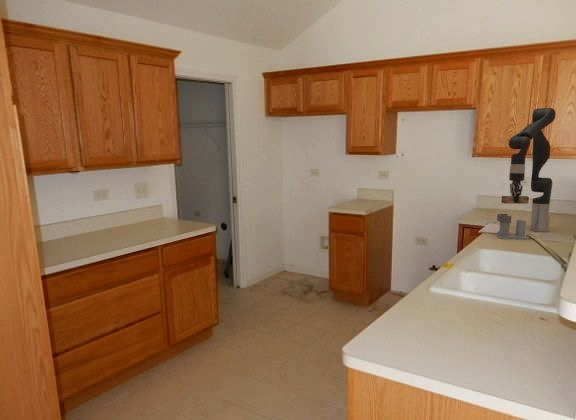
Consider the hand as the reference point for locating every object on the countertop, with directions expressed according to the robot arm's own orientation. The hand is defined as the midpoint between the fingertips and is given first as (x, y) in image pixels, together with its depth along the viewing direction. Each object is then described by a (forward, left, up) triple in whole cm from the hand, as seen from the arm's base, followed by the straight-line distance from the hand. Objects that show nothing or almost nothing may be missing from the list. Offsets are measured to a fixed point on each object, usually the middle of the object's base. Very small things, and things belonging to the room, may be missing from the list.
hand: (514, 202), depth 236 cm
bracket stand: (0, 0, -21) cm, 21 cm away
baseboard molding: (+5, -25, -22) cm, 33 cm away
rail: (0, 0, -1) cm, 1 cm away
